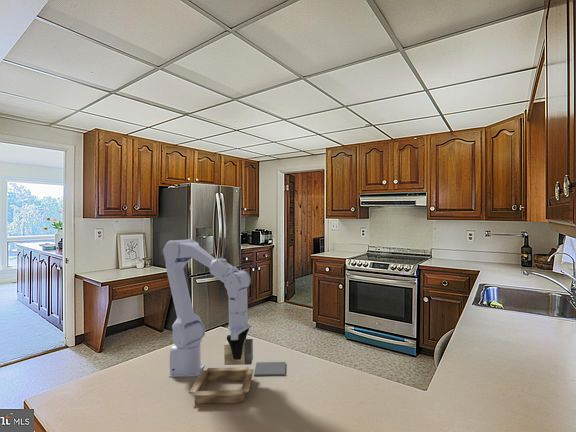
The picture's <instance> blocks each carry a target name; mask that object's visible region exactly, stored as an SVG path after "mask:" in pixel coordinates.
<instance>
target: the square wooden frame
mask: <svg viewBox="0 0 576 432" xmlns="http://www.w3.org/2000/svg"><path fill="white" fill-rule="evenodd" d="M254 371H255V369H253V368H252V369H251V368H250V367H249V366H247V367H245V366H244V367H243V366H242V367H241V366H240V367H237V366H235V367H207V369H202V371H201V372H200V374H199V376H197V378H196V379H195V382H194V383H193V385H192V386H191V389H190V390H189V391H188V393H189V394H192V397H194V404H225V403H226V404H228V403H230V404H232V403H233V404H234V403H237V404H238V403H244V401H245V398H246V397H245V396H246V393H249V391H250V388H251V383H252V379H253V376H254ZM211 381H213V382H214V381H215V382H216V381H243V382H242V386H241V388H240V389H238V390H236V389H235V390H233V389H232V390H230V389H229V390H205V388H206V386H207V384H208V383H209V382H211Z"/></svg>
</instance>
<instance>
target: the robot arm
mask: <svg viewBox="0 0 576 432" xmlns="http://www.w3.org/2000/svg"><path fill="white" fill-rule="evenodd" d="M162 252H163V257H164V262H165V270H166V274H167V275H166V276H167V278H168V283H169V287H170V293H171V297H172V301H173V304H174V310H175V314H176V319H175V320H174V322H173V324H172V325H171V329H172V336H171V338H172V341H173V342H172V343H173V345H172V346H171V349H170V353H169V374H168V376H169V378H171V377H172V378H173V377H175V378H176V377H177V378H179V377H180V378H181V377H182V378H183V377H185V378H186V377H189V378H190V377H198V376H199V374H200V373H201V371H202V370H204V369H203V368H205V364H204V363H203V364H201V361H202V360H201V358H202V357H201V343H202V342H203V338H205V337H204V336H205V335H206V328H205V327H206V326H205V325H204V324H203V321H202V320H201V316H200V315H198V314H197V313H195V312H194V308H193V304H192V299H191V296H190V291H189V288H188V282H187V279H186V275H185V271H184V268H185V266H186V264H188V263H189V261H190V260H191V259H194V260H195V261H197V262H199V263H200V264H202V265H204V266H205V267H206V268H209V273H210V274H211V275H212V276H213V277H214V278H216V279H218V280H219V281H221V282H222V283H223V284H224V288H225V289H226V291H227V296H228V328H227V329H228V331H229V333H230V334H227V336H226V341H228V342H229V344H230V347H231V350H232V354H233V358H234V360H240V359H241V356H242V350H243V344H244V341H245V339H247V336H248V333H249V331H250V329H252V324H251V323H250V324H249V323H248V322H249V321H248V313H249V312H248V288H249V287H250V285H251V282H252V279H251V278H252V277H251V276H250V273H249V272H248V271H247V270H245V269H240V270H239V269H238V267H236V266H234V265H232V264H230V263H228V262H227V259H226V258H217V259H216V258H215V257H214V256H213V255H211V254H210V253H209V252H207V251H206V250H205V249H204V248H202V247H201V246H200V244H199V242H198V241H195V240H194V239H193V238H187V239H178V240H177V239H176V240H175V239H174V240H172V239H170V240H168V241H167V242H166V244H165V245H164V248H163V249H162Z"/></svg>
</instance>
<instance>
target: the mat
mask: <svg viewBox="0 0 576 432" xmlns="http://www.w3.org/2000/svg"><path fill="white" fill-rule="evenodd" d="M253 376H254V377H279V376H286V361H266V362H265V361H263V362H262V361H260V362H259V361H257V362H256V363H255V369H254V371H253Z"/></svg>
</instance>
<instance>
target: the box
mask: <svg viewBox="0 0 576 432" xmlns="http://www.w3.org/2000/svg"><path fill="white" fill-rule="evenodd" d="M253 345H254V342H253V338H246V339H245V341H244V344H243V350H242V356H241V359H240V360H234V358H233V354H232V350H231V347H230V344H229V342H228V341H227V340H226V341H225V343H224V344H223V347H224V348H223V352H224V353H223V356H224V357H223V358H224V359H223V360H224V362H223V363H224V366H231V365H232V366H241V365H242V366H244V365H245V366H246V365H252V363H253V359H254V346H253Z"/></svg>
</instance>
